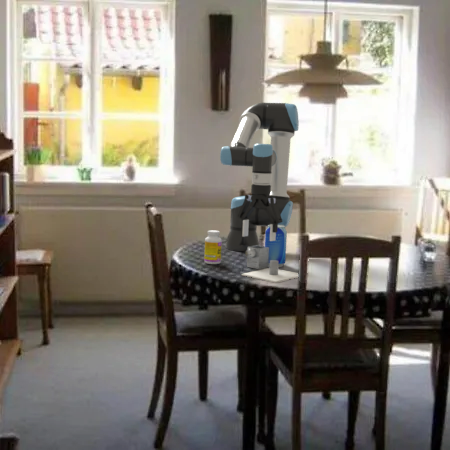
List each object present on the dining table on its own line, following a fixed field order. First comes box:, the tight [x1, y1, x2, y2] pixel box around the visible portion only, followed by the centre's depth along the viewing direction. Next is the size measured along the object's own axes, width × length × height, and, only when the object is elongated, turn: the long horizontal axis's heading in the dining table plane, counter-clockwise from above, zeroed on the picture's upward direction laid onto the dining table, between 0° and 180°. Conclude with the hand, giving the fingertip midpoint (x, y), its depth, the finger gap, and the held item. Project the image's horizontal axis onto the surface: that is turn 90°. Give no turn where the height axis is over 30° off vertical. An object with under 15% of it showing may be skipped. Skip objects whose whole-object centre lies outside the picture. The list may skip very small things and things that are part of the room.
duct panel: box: [241, 260, 299, 284], centre depth 295 cm, size 18×16×6 cm
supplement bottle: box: [203, 229, 223, 265], centre depth 314 cm, size 7×7×13 cm
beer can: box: [264, 225, 288, 268], centre depth 314 cm, size 8×8×16 cm
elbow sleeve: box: [244, 244, 269, 270], centre depth 309 cm, size 9×6×8 cm
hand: (258, 238), depth 308 cm, fingers open, 13 cm apart
